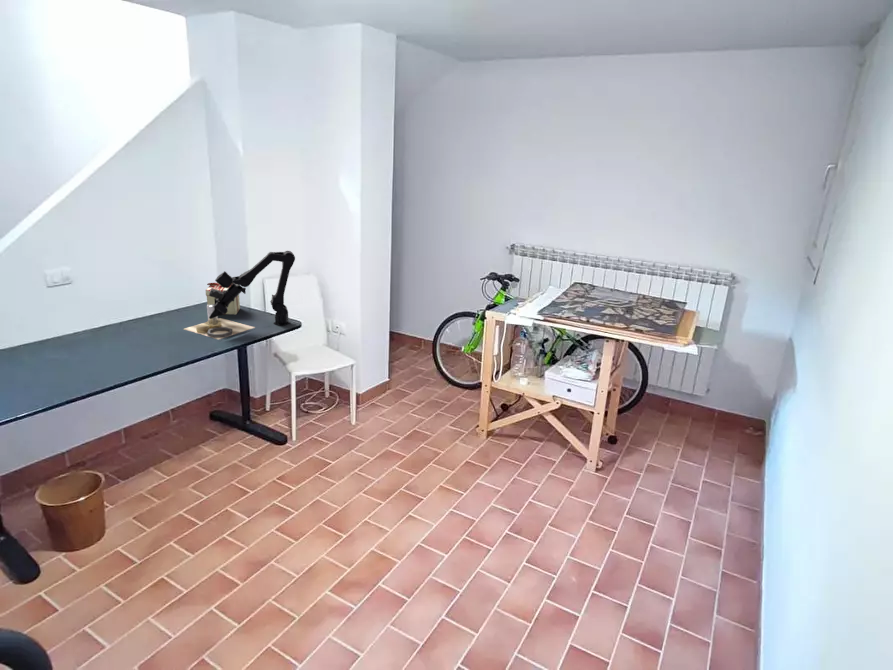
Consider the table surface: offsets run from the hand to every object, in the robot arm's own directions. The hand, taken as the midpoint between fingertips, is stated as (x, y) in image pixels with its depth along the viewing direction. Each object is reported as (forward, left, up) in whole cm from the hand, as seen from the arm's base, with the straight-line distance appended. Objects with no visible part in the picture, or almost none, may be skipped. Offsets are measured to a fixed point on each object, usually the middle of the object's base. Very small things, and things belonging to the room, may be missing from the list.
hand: (209, 315), depth 284 cm
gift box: (-22, -15, -7) cm, 28 cm away
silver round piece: (-1, +1, -6) cm, 6 cm away
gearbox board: (-1, +6, -7) cm, 9 cm away
